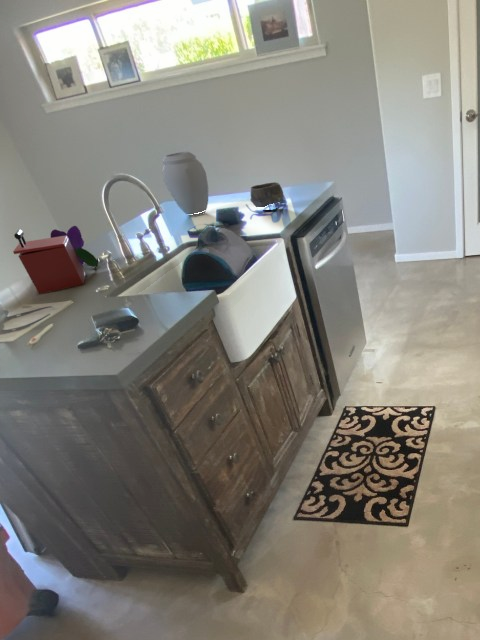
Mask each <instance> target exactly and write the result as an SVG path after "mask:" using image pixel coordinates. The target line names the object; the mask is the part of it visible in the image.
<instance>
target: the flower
mask: <svg viewBox="0 0 480 640" xmlns="http://www.w3.org/2000/svg"><path fill="white" fill-rule="evenodd" d="M66 235H67V236H68V238H69V240H70V243H71V245H72V247H73V249H74V251H75V253H76V255H77V257H78V259H79V261H80V263H81V266H83V265H84V264H86V265H87V266H90V267H92V268H94V269H97V268H98V267H99V258H96V257H95V255H93V253H91V252H90V251H89V250H87V249H84V248H83V247H84V246H85V241H84V239H83V237H82V233H81V229H80V228H79V227H78V226H77V225H72V226H71V227H70V228H68V230H67V231H66V232H65V231H62V230H59V229H56V228H55V229H52V230H51V232H50V238H53V237H59V236H66Z"/></svg>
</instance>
